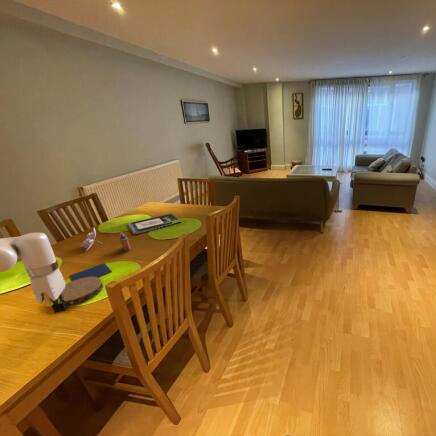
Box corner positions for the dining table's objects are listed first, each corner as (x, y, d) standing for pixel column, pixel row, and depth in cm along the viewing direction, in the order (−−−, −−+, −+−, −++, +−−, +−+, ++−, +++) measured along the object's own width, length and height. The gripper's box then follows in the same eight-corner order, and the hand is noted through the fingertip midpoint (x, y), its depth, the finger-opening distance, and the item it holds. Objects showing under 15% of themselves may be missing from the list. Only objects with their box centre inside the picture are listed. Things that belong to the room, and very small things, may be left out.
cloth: (75, 286, 108) (75, 285, 107) (69, 276, 115) (69, 275, 114) (112, 271, 118) (111, 271, 117) (104, 263, 125) (104, 262, 124)
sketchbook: (181, 223, 174) (181, 220, 173) (134, 235, 155) (133, 232, 154) (171, 214, 188) (171, 212, 188) (127, 225, 170) (126, 222, 169)
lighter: (121, 247, 140) (117, 232, 136) (128, 245, 142) (123, 230, 138) (125, 252, 135) (120, 236, 131) (132, 250, 137) (127, 234, 133)
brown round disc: (112, 282, 110) (110, 277, 109) (81, 307, 95) (79, 301, 94) (79, 281, 111) (77, 276, 110) (44, 306, 96) (41, 300, 95)
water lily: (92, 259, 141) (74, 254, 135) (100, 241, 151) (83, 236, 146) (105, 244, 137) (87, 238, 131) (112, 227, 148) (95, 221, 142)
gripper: (39, 259, 87) (56, 300, 93) (15, 283, 74) (37, 328, 80) (65, 255, 89) (80, 295, 96) (47, 277, 77) (66, 321, 83)
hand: (61, 310), depth 88 cm, fingers closed
